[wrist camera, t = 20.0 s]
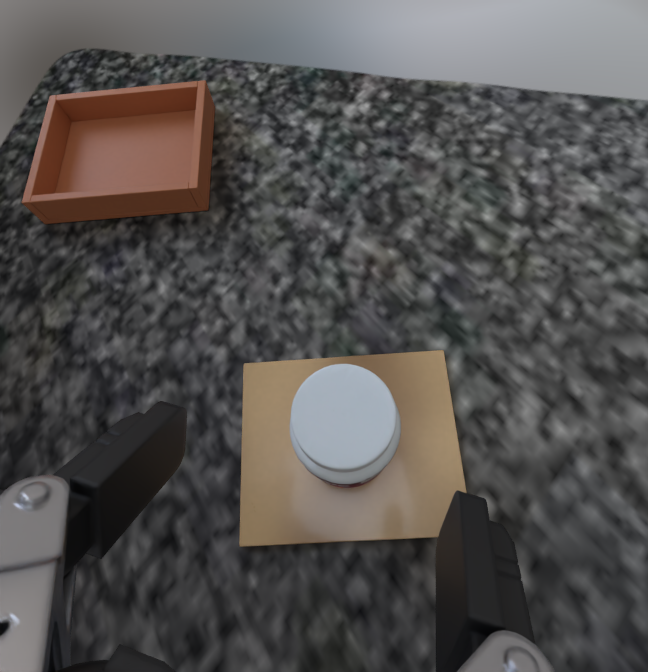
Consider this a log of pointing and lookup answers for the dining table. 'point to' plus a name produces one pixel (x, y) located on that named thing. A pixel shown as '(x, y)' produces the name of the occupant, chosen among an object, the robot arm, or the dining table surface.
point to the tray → (123, 154)
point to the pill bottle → (344, 425)
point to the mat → (348, 503)
